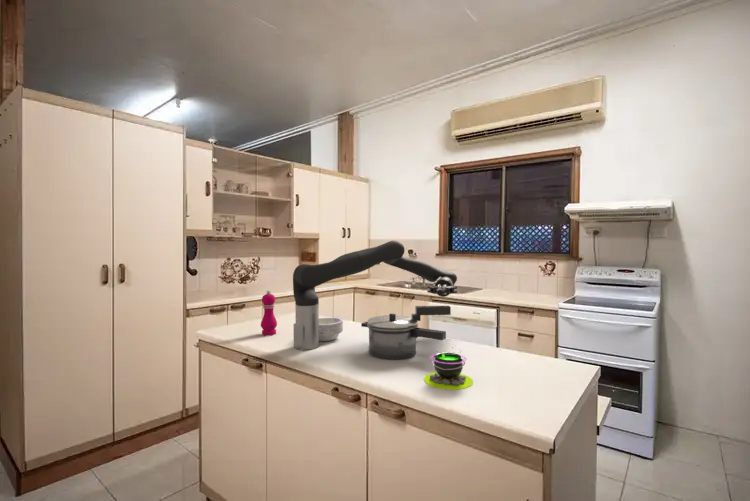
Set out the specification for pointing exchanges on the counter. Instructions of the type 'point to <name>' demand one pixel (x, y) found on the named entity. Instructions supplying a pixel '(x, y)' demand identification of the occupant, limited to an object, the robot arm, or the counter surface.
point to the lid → (404, 321)
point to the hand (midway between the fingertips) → (440, 292)
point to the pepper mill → (268, 315)
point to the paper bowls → (329, 328)
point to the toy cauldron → (448, 372)
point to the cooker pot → (398, 341)
